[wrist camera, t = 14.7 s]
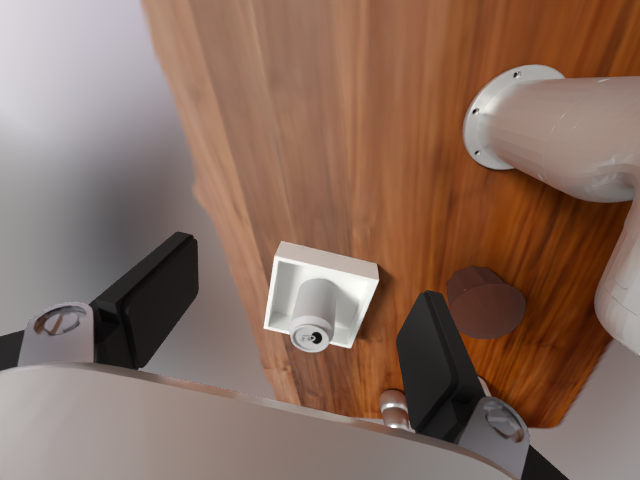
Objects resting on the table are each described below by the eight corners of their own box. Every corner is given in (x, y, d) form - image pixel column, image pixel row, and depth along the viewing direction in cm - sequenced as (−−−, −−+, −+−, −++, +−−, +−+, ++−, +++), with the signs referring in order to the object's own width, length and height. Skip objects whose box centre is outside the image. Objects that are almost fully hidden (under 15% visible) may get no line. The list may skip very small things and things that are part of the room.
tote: (376, 263, 50) (379, 280, 45) (350, 329, 59) (350, 348, 55) (281, 240, 49) (274, 255, 45) (270, 310, 59) (263, 328, 54)
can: (335, 306, 55) (331, 358, 44) (299, 303, 55) (286, 353, 45) (338, 277, 51) (335, 326, 41) (299, 273, 52) (285, 321, 41)
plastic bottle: (377, 385, 68) (386, 488, 51) (405, 385, 67) (424, 490, 49) (379, 400, 71) (388, 502, 54) (406, 400, 70) (424, 504, 52)
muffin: (481, 248, 46) (511, 285, 38) (518, 284, 49) (554, 326, 40) (425, 286, 51) (439, 327, 43) (461, 317, 54) (482, 361, 46)
